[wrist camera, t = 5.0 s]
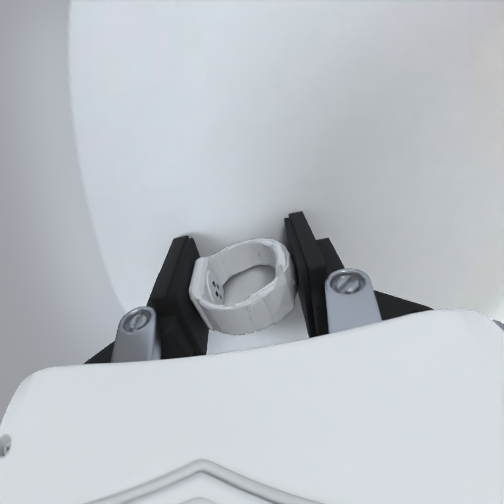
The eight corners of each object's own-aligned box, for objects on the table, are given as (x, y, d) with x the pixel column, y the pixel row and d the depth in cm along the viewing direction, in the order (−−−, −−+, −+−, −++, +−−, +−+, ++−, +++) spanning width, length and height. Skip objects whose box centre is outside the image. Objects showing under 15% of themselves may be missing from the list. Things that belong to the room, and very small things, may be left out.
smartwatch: (281, 218, 11) (297, 278, 8) (295, 262, 12) (313, 330, 9) (196, 245, 12) (178, 311, 8) (216, 285, 13) (207, 355, 9)
